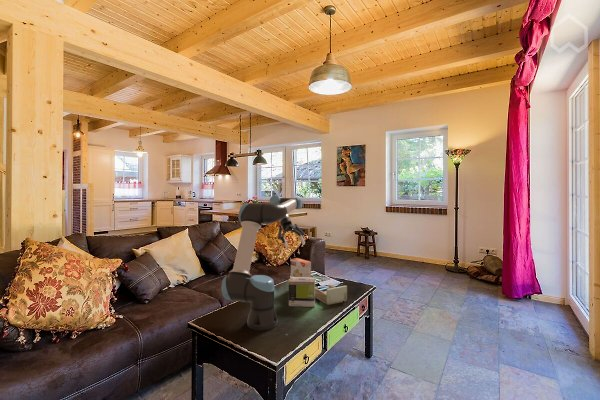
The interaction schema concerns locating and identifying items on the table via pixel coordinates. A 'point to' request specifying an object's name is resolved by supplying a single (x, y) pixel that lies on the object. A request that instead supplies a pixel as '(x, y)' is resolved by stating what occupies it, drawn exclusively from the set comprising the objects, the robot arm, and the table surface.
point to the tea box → (302, 291)
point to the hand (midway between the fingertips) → (295, 245)
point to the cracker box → (300, 268)
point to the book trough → (332, 294)
